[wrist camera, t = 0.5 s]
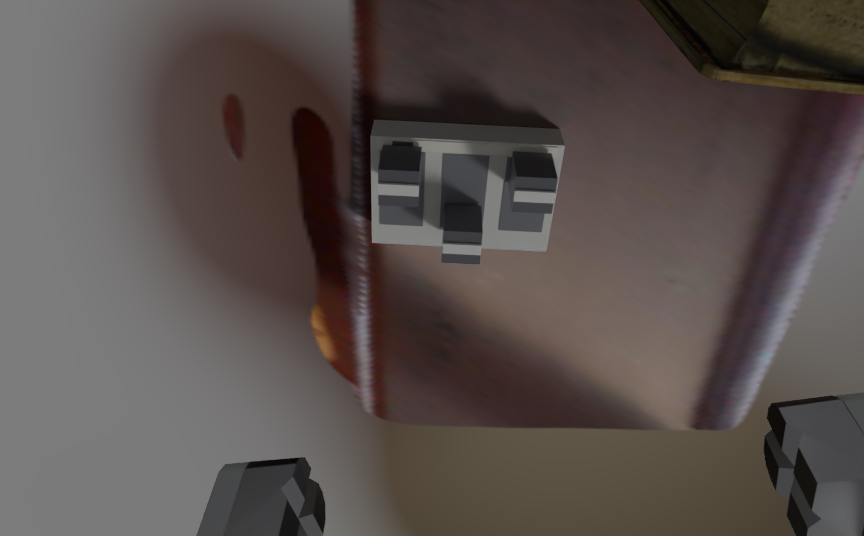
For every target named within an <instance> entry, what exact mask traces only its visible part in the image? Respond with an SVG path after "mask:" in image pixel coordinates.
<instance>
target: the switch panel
mask: <svg viewBox="0 0 864 536" xmlns="http://www.w3.org/2000/svg"><path fill="white" fill-rule="evenodd" d="M370 140H371V206H372V243H387V244H407V245H427V246H442V237H443V219H444V204H460V205H479V206H481V211H482V229H483V235H482V247H481V248H486V249H506V250H525V251H545V252H546V251H547V245H548V239H549V233H550V228H551V222H552V216H553V211H554V205H555V202H554V204H553V209H552V214H543V213H524V212H512V210H511V202H510V194H509V186H508V185H509V176H510V168H511V160H512V152H513V151H517V152H537V153H552V157H553V161H554V165H555V169H556V173H557V177H558V181H557V186H556V193H557V188H558V182H559V176H560V171H561V165H562V159H563V153H564V148H565V144H564V141H563V137H562V134H561V131H560V129H551V128H532V127H512V126H492V125H472V124H453V123H433V122H413V121H394V120H374V123H373V127H372V131H371V136H370ZM383 145H399V146H419V147H422V157H421V183H420V194H419V206H418V207H405V206H385V205H378V167H379V162H380V157H381V152H382V147H383ZM555 199H556V196H555Z"/></svg>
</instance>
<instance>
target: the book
mask: <svg viewBox="0 0 864 536" xmlns="http://www.w3.org/2000/svg"><path fill="white" fill-rule="evenodd" d="M639 1H640V2H641V3H642V4H643V6H644V7H645V8H646V9H647V10H648V12H649V13H650V14H651V15H652V16H653V18H654V19H655V20H656V21H657V23H658V24H659V25H660V26H661V27H662V29H663V30H664V31H665V32H666V34H667V35H668V36H669V37H670V38H671V40H672V41H673V42H674V43H675V45H676V46H677V47H678V48H679V49H680V51H681V52H682V53H683V54H684V56H685V57H686V58H687V59H688V60H689V62H690V63H691V64H692V65H693V66H694V68H695V69H696V70H697V71H698V72H699V73H700V74H702V75H704V76H706V77H708V78H711V79H715V80H720V81H728V82H738V83H748V84H758V85H768V86H777V87H787V88H797V89H807V90H816V91H826V92H836V93H845V94H855V95H864V0H639Z"/></svg>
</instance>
